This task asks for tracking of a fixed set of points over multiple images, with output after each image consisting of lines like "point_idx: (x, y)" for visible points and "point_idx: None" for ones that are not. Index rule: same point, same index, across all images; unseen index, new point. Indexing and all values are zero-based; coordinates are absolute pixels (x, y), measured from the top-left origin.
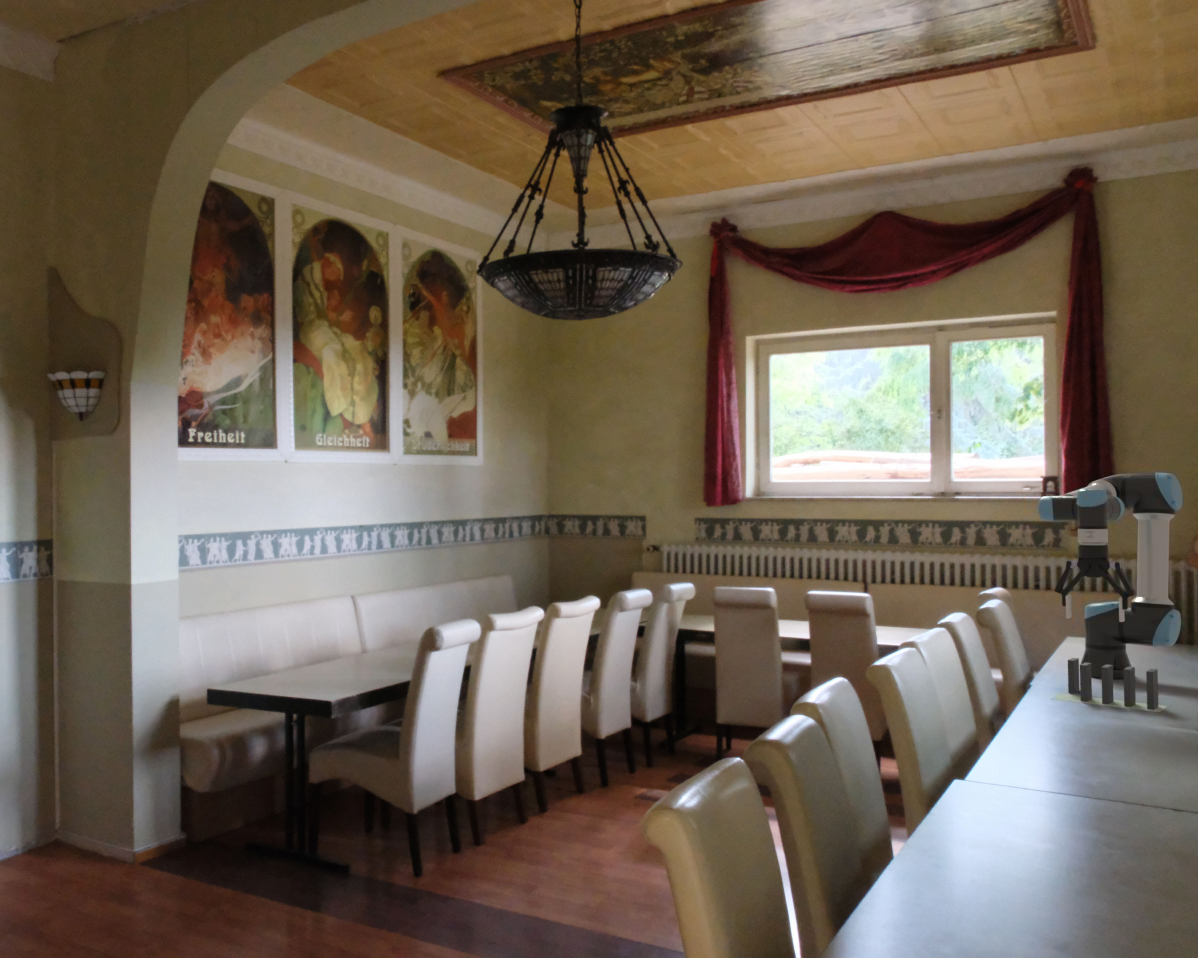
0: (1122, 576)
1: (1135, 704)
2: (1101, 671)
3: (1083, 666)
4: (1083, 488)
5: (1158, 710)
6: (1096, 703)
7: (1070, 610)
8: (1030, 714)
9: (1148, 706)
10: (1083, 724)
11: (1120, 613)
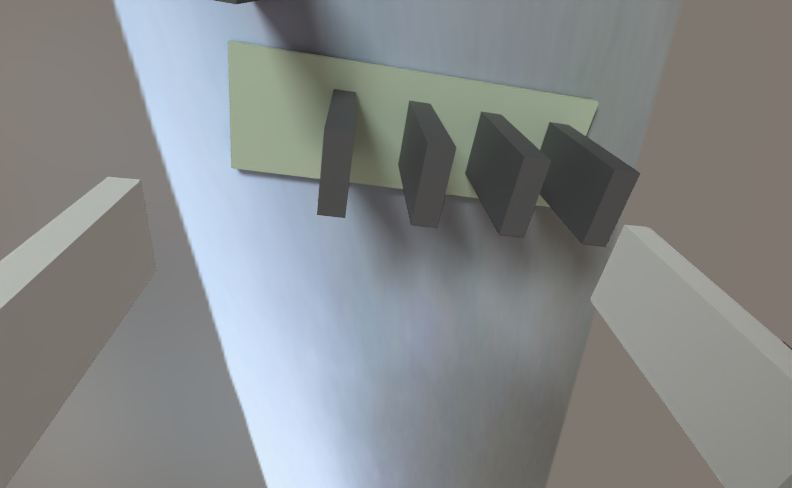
0: None
1: None
2: (409, 214)
3: (334, 213)
4: None
5: None
6: (381, 172)
7: (107, 264)
8: (245, 347)
9: None
10: (377, 378)
11: (640, 352)
